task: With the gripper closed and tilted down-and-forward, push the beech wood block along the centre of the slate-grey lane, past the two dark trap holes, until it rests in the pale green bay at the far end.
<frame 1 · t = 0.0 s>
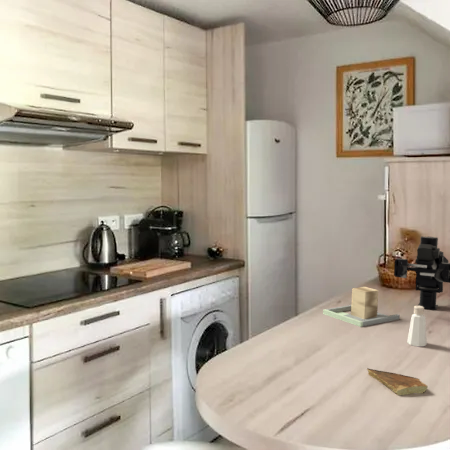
hand: (419, 274, 172), 17 cm above the countertop, fingers open, 9 cm apart
block: (363, 315, 179), point 1 cm above the countertop, touching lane
shard: (393, 388, 124), on the countertop
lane: (361, 319, 178), on the countertop
salt shaker: (416, 344, 155), on the countertop
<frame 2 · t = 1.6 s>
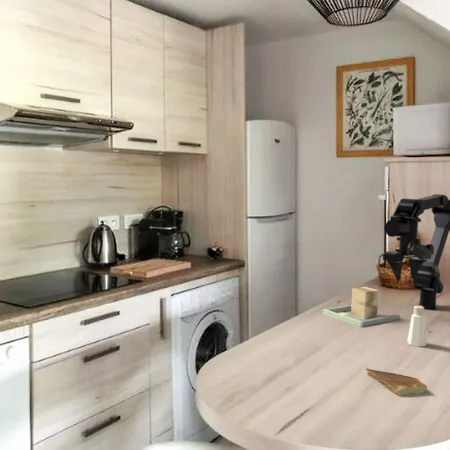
hand: (405, 279, 186), 12 cm above the countertop, fingers open, 8 cm apart
nothing on the countertop moved.
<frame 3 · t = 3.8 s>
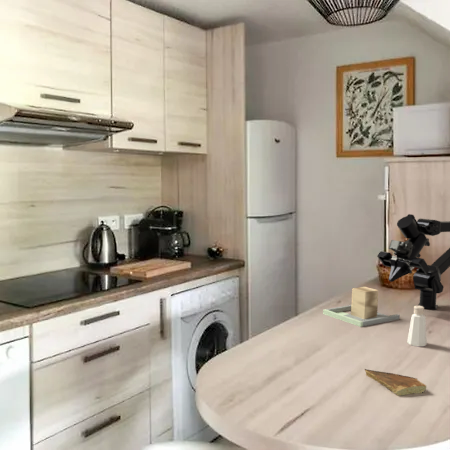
hand: (390, 280, 184), 12 cm above the countertop, fingers closed
nothing on the countertop moved.
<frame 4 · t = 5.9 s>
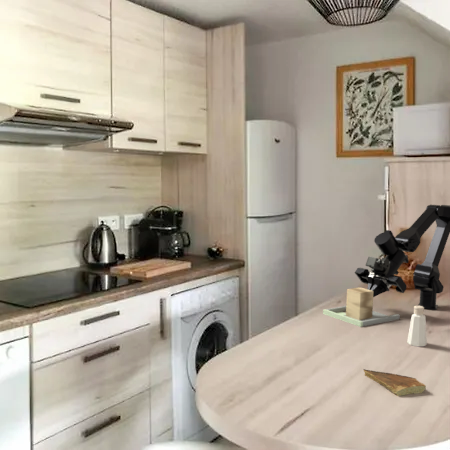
hand: (366, 298, 179), 7 cm above the countertop, fingers closed, pressing on block
block: (359, 316, 178), point 1 cm above the countertop, touching gripper, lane
everything else where it was.
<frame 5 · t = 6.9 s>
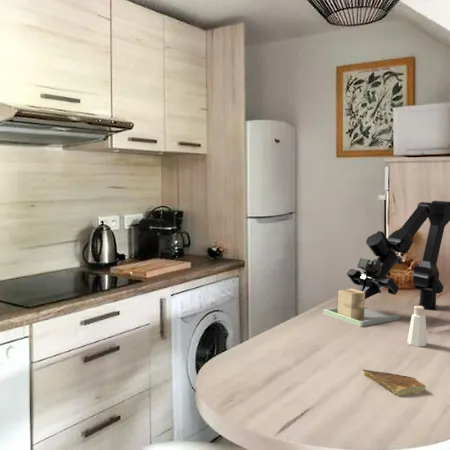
hand: (358, 300, 177), 7 cm above the countertop, fingers closed, pressing on block
block: (350, 318, 176), point 1 cm above the countertop, touching gripper, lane
everything else where it was.
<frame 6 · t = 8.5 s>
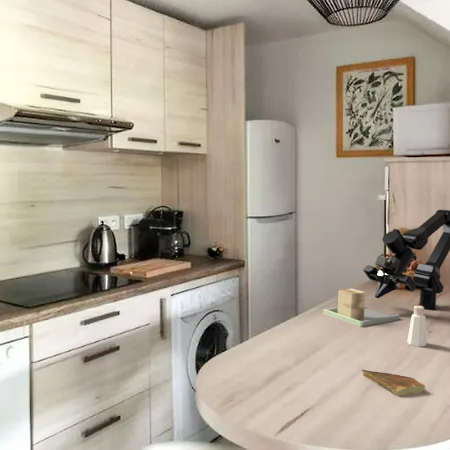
hand: (376, 297, 181), 7 cm above the countertop, fingers closed
block: (350, 318, 176), point 1 cm above the countertop, touching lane
everything else where it was.
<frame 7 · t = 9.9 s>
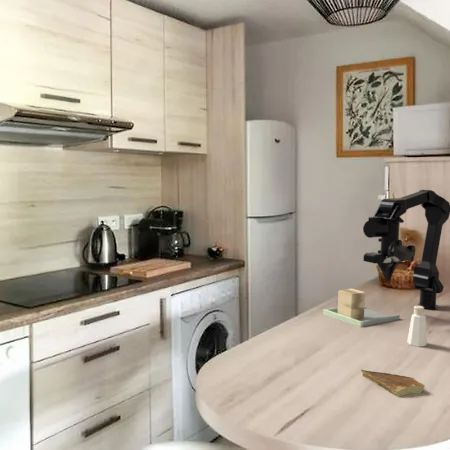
hand: (387, 281, 183), 12 cm above the countertop, fingers closed
nothing on the countertop moved.
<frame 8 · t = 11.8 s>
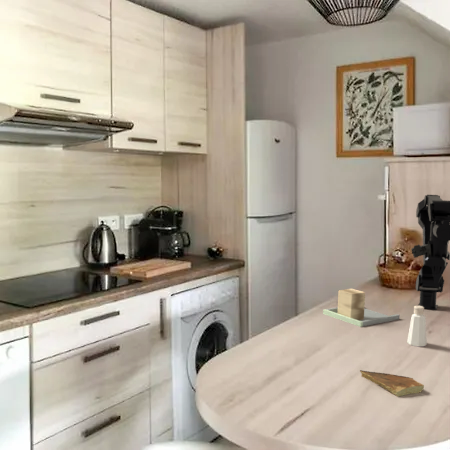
hand: (436, 283, 181), 12 cm above the countertop, fingers closed
at the end: block 0.1 cm from the target spot, point 1.2 cm above the countertop; block tilted 0° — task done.
